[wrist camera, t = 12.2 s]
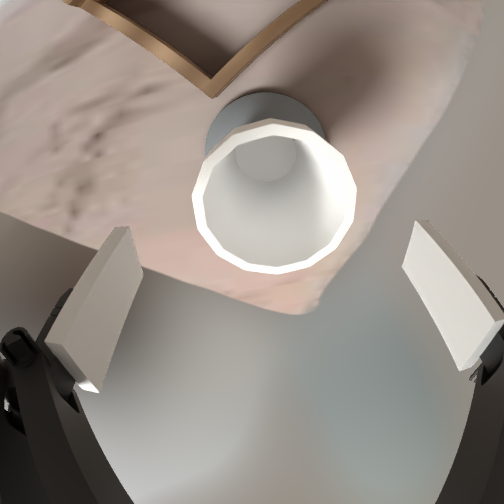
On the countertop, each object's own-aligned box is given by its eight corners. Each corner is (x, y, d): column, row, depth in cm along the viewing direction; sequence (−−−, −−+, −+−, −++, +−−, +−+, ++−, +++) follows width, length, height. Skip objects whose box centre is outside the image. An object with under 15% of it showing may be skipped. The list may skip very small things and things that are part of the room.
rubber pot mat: (182, 154, 27) (181, 156, 27) (265, 68, 23) (265, 67, 22) (266, 224, 32) (266, 227, 31) (347, 152, 27) (349, 154, 27)
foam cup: (271, 86, 23) (288, 88, 12) (331, 156, 27) (383, 214, 16) (198, 150, 26) (160, 205, 16) (260, 211, 30) (265, 295, 20)
